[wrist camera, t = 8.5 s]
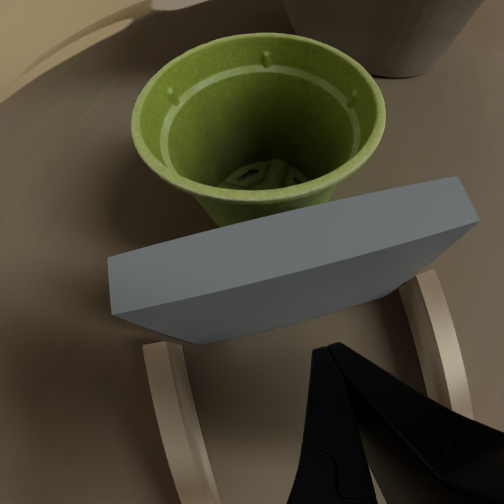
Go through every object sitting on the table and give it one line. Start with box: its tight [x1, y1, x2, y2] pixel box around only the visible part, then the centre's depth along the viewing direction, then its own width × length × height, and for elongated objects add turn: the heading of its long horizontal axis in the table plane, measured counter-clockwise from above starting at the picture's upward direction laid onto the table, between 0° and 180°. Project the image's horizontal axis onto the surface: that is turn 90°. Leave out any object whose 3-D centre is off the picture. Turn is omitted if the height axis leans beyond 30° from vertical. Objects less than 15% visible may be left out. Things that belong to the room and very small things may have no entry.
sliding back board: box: [107, 176, 480, 345], centre depth 12 cm, size 4×10×9 cm, turn 103°
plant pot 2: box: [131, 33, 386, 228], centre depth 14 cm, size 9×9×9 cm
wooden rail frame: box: [142, 269, 474, 504], centre depth 11 cm, size 16×14×2 cm
